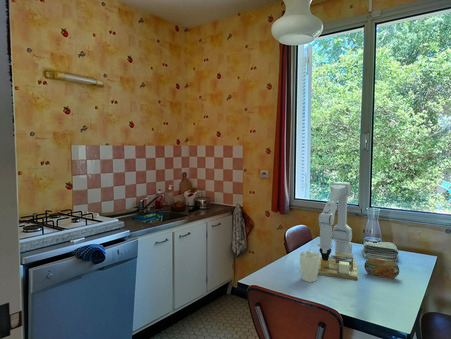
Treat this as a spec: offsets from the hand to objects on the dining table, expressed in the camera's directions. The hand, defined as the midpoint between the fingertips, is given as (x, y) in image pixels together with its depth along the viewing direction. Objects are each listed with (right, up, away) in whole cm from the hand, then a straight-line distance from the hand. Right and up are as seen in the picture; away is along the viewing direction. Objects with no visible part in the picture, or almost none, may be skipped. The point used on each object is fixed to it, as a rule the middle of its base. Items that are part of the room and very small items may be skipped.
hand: (325, 263), depth 155 cm
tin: (+25, -4, -7) cm, 26 cm away
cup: (-11, -4, -12) cm, 17 cm away
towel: (+39, -3, +23) cm, 46 cm away
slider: (+3, -2, -5) cm, 6 cm away
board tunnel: (+6, -4, +2) cm, 7 cm away
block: (+7, -2, -7) cm, 10 cm away
